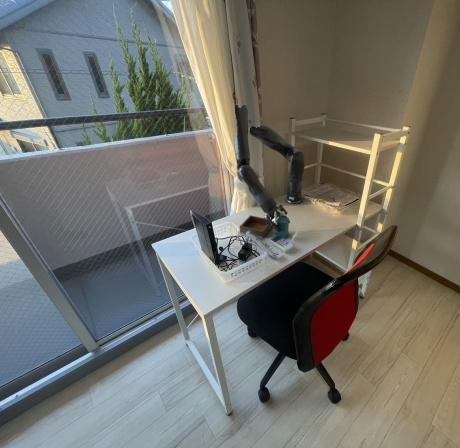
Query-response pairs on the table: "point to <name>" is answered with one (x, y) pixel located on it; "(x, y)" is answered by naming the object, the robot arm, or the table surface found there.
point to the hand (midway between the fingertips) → (284, 227)
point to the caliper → (255, 240)
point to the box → (255, 226)
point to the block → (282, 227)
